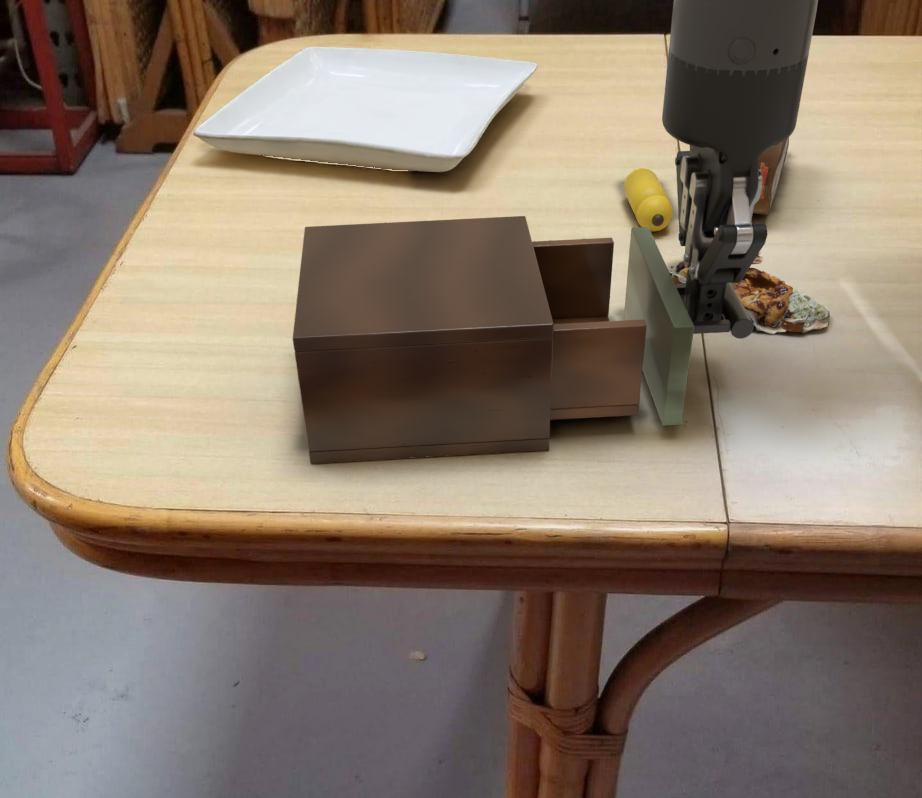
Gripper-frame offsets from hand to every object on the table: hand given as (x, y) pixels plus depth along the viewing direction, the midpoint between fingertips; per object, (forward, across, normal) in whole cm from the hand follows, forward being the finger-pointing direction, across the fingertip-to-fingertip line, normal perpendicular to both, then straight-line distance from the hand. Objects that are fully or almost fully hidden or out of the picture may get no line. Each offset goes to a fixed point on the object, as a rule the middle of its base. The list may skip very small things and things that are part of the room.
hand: (699, 325), depth 70 cm
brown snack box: (+4, +29, -13) cm, 32 cm away
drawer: (+3, 0, +7) cm, 7 cm away
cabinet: (+4, 0, +18) cm, 19 cm away
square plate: (+4, +50, +21) cm, 54 cm away
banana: (+4, +26, -2) cm, 26 cm away
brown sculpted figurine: (+4, +9, -6) cm, 12 cm away
